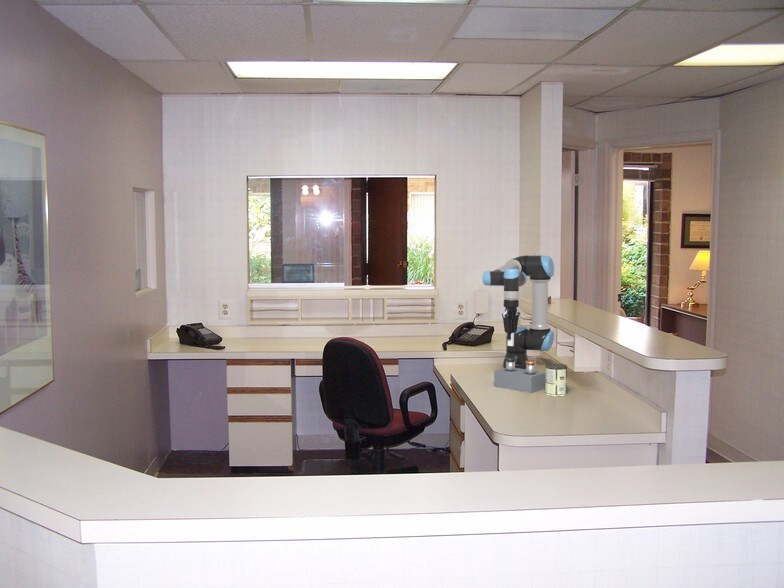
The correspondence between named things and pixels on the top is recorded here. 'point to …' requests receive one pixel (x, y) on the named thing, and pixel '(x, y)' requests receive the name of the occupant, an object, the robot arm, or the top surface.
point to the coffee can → (556, 380)
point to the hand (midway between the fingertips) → (510, 345)
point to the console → (519, 380)
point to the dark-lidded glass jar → (510, 364)
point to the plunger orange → (530, 367)
